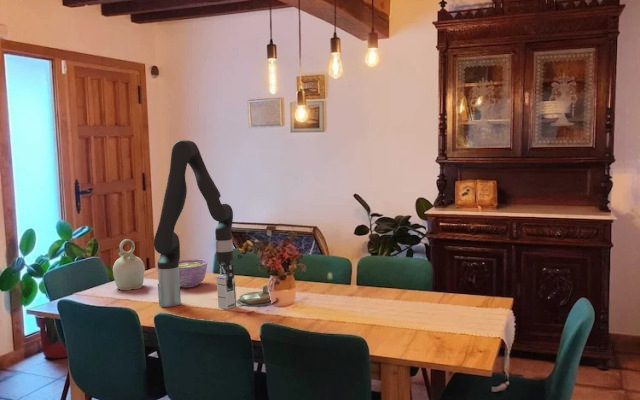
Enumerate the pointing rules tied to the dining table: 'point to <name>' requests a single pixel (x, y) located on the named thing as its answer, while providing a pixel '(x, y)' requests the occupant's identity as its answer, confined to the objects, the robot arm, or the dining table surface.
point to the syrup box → (225, 293)
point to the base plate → (252, 304)
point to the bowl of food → (191, 272)
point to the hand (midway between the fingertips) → (227, 285)
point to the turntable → (256, 297)
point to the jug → (128, 269)
